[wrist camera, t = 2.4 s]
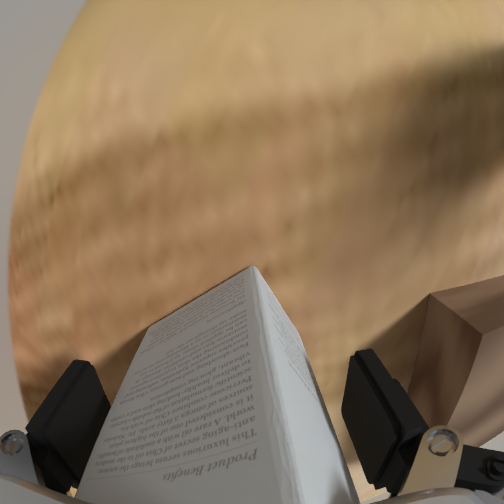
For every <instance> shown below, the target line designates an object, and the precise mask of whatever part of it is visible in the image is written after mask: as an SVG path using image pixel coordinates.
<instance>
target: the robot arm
mask: <svg viewBox="0 0 504 504" xmlns="http://www.w3.org/2000/svg"><path fill="white" fill-rule="evenodd" d="M110 408H111V406H110V403H109V401H108V399H107V397H106V395H105V392H104V390H103V388H102V385H101V383H100V380H99V378H98V376H97V373H96V370H95V368H94V366H93V365H91V364H90V362H89V361H84V360H74V361H73V362H72V363H71V364H70V366H69V367H68V368H67V370H66V371H65V372H64V374H63V375H62V376H61V378H60V379H59V380H58V382H57V383H56V384H55V386H54V387H53V389H52V390H51V391H50V393H49V394H48V396H47V397H46V398H45V400H44V401H43V403H42V404H41V406H40V407H39V408H38V410H37V411H36V413H35V414H34V416H33V417H32V419H31V420H30V422H29V423H28V425H27V426H26V428H25V429H26V430H27V432H28V433H27V434H26V435H25V434H24V433H23V432H21V431H19V430H10V431H8V432H6V433H4V434H3V435H2V436H1V437H0V504H93V503H89V502H86V501H83V500H80V499H77V498H73V497H72V494H71V492H70V488H71V486H72V487H73V488H76V489H78V487H79V484H80V482H81V479H82V476H83V474H84V471H85V468H86V466H87V463H88V461H89V458H90V456H91V453H92V451H93V448H94V445H95V443H96V441H97V438H98V436H99V434H100V431H101V429H102V427H103V424H104V422H105V419H106V417H107V415H108V413H109V411H110ZM341 411H342V417H343V419H344V422H345V424H346V427H347V429H348V432H349V434H350V437H351V440H352V442H353V445H354V447H355V450H356V453H357V455H358V458H359V460H360V463H361V466H362V468H363V471H364V473H365V476H366V479H367V481H368V483H369V484H374V487H375V490H377V489H381V488H384V487H386V489H387V491H388V492H389V493H390V494H389V496H388V498H387V499H385V500H382V501H378V502H374V503H371V504H504V452H500V451H495V450H489V449H483V448H479V447H474V446H469V445H465V444H463V438H462V436H461V434H460V433H459V432H458V431H457V430H456V429H454V428H452V427H449V426H443V425H440V426H434V427H432V428H429V426H428V425H427V423H426V422H425V420H424V419H423V417H422V416H421V414H420V413H419V411H418V410H417V408H416V407H415V405H414V404H413V402H412V401H411V399H410V398H409V396H408V395H407V393H406V392H405V390H404V389H403V387H402V386H401V384H400V383H399V382H398V381H397V380H396V379H393V378H392V377H391V376H390V374H389V373H388V371H387V370H386V368H385V367H384V365H383V364H382V362H381V361H380V359H379V358H378V357H377V355H376V354H375V352H374V351H373V350H372V349H365V350H360V351H356V352H355V354H354V356H351V357H350V361H349V368H348V374H347V380H346V386H345V392H344V397H343V402H342V408H341Z"/></svg>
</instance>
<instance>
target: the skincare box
mask: <svg viewBox="0 0 504 504" xmlns="http://www.w3.org/2000/svg"><path fill="white" fill-rule="evenodd" d="M74 498H77V499H80V500H83V501H86V502H89V503H93V504H361V503H360V501H359V498H358V495H357V492H356V489H355V487H354V484H353V481H352V478H351V475H350V472H349V469H348V467H347V464H346V461H345V458H344V455H343V453H342V450H341V447H340V444H339V442H338V439H337V436H336V433H335V430H334V428H333V425H332V422H331V419H330V417H329V414H328V411H327V408H326V406H325V403H324V400H323V397H322V395H321V392H320V389H319V386H318V384H317V381H316V378H315V376H314V373H313V370H312V368H311V365H310V362H309V360H308V357H307V354H306V351H305V349H304V346H303V343H302V341H301V338H300V335H299V333H298V331H297V330H296V328H295V327H294V325H293V324H292V322H291V321H290V319H289V318H288V316H287V314H286V313H285V311H284V310H283V308H282V307H281V305H280V303H279V302H278V300H277V299H276V297H275V296H274V294H273V292H272V291H271V289H270V288H269V286H268V285H267V283H266V282H265V280H264V279H263V277H262V275H261V274H260V272H259V271H258V269H257V268H256V267H255V266H250V267H248V268H246V269H245V270H243V271H242V272H240V273H238V274H237V275H235V276H233V277H232V278H230V279H228V280H227V281H225V282H223V283H222V284H220V285H218V286H217V287H215V288H213V289H212V290H210V291H208V292H207V293H205V294H203V295H202V296H200V297H198V298H197V299H195V300H193V301H192V302H190V303H189V304H187V305H185V306H183V307H182V308H180V309H178V310H177V311H175V312H174V313H172V314H170V315H169V316H167V317H165V318H163V319H162V320H160V321H158V322H157V323H155V324H153V325H151V326H150V327H149V328H148V330H147V332H146V334H145V336H144V338H143V340H142V342H141V344H140V346H139V348H138V350H137V352H136V354H135V356H134V358H133V360H132V362H131V364H130V367H129V369H128V371H127V373H126V375H125V377H124V379H123V382H122V384H121V386H120V388H119V390H118V393H117V395H116V397H115V399H114V402H113V404H112V406H111V408H110V411H109V413H108V415H107V417H106V419H105V422H104V424H103V427H102V429H101V431H100V434H99V436H98V438H97V441H96V443H95V445H94V448H93V451H92V453H91V456H90V458H89V461H88V463H87V466H86V468H85V471H84V474H83V476H82V479H81V482H80V484H79V487H78V489H77V492H76V495H75V497H74Z"/></svg>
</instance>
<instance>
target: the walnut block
mask: <svg viewBox="0 0 504 504" xmlns="http://www.w3.org/2000/svg"><path fill="white" fill-rule="evenodd" d="M407 395H408V396H409V398H410V399H411V401H412V402H413V404H414V405H415V407H416V408H417V410H418V411H419V413H420V414H421V416H422V417H423V419H424V420H425V422H426V423H427V425H428V426H429V428H432V427H434V426H440V425H443V426H449V427H452V428H454V429H456V430H457V431H458V432H459V433H460V434H461V436H462V438H463V444H465V445H469V446H474V447H480V446H481V445H483V444H485V443H486V442H488V441H489V440H491V439H492V438H494V437H495V436H497V435H498V434H500V433H501V432H503V431H504V275H503V276H499V277H495V278H492V279H488V280H484V281H480V282H476V283H472V284H468V285H464V286H460V287H456V288H452V289H447V290H443V291H438V292H434V293H430V294H429V300H428V307H427V313H426V318H425V324H424V329H423V334H422V338H421V343H420V348H419V352H418V356H417V360H416V364H415V368H414V372H413V375H412V379H411V382H410V386H409V389H408V393H407Z"/></svg>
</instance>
